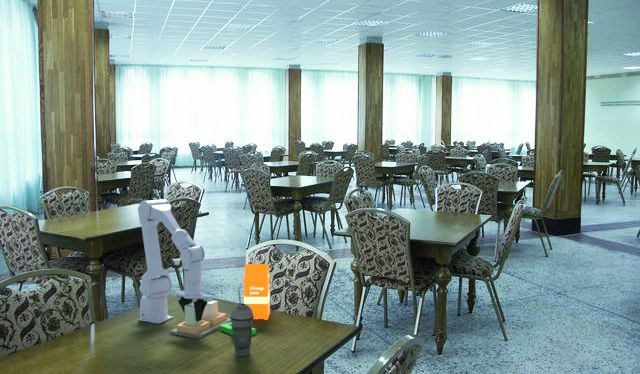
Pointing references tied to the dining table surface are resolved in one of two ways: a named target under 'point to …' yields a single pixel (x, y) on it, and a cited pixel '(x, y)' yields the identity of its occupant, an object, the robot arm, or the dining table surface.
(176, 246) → the robot arm
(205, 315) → the grey-green rectangular block
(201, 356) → the dining table surface
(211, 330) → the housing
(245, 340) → the beverage cup
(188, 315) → the sage block
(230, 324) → the mechanical part
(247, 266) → the orange juice
